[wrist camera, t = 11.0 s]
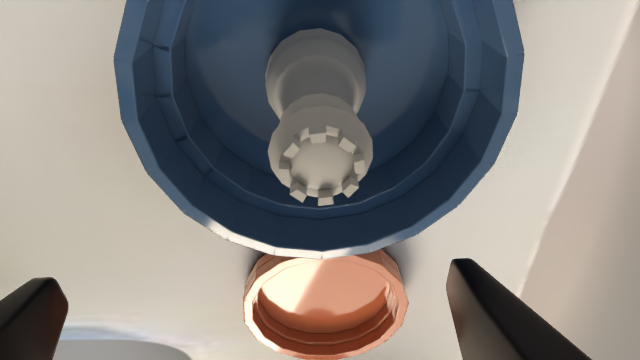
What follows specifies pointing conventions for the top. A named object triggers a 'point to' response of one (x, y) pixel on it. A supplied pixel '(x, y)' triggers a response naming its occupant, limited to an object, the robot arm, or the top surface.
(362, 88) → the rook chess piece
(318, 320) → the orange round lid
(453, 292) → the robot arm
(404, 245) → the top surface
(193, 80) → the bowl
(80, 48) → the top surface
